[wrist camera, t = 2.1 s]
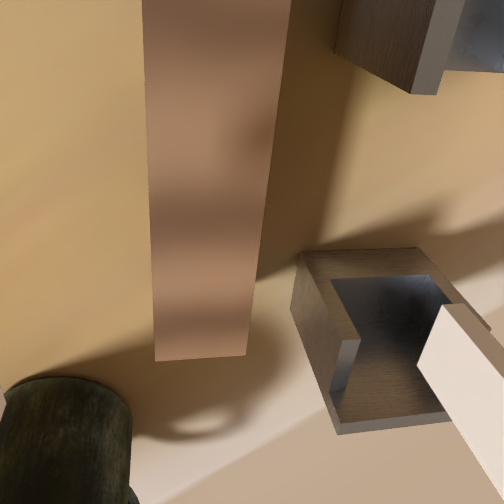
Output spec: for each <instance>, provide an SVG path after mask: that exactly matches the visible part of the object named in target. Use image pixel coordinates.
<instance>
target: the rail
mask: <svg viewBox="0 0 504 504" xmlns="http://www.w3.org/2000/svg"><path fill="white" fill-rule="evenodd" d="M290 8H291V0H142V18H143V45H144V72H145V100H146V127H147V154H148V181H149V209H150V236H151V263H152V290H153V317H154V345H155V362H156V361H170V360H185V359H199V358H214V357H228V356H243V355H246V348H247V341H248V333H249V325H250V317H251V310H252V302H253V294H254V286H255V279H256V271H257V263H258V255H259V248H260V240H261V232H262V225H263V217H264V209H265V201H266V194H267V186H268V178H269V170H270V163H271V155H272V147H273V139H274V132H275V124H276V116H277V109H278V101H279V93H280V85H281V78H282V70H283V62H284V54H285V47H286V39H287V31H288V23H289V16H290Z"/></svg>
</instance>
